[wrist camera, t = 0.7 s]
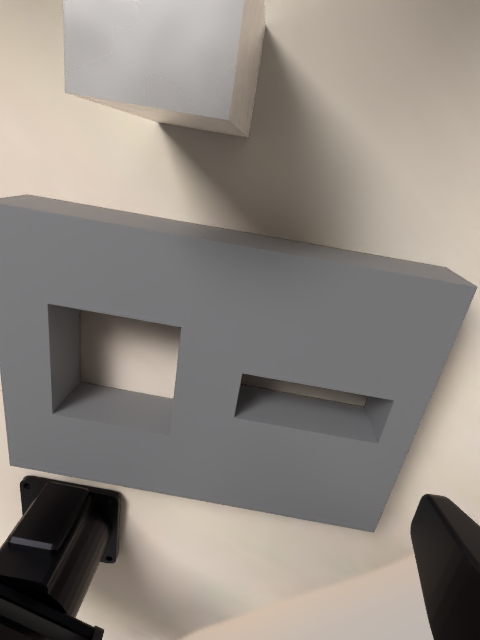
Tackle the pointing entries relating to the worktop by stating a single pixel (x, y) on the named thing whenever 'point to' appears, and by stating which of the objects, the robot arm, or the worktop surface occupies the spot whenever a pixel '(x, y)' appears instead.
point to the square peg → (167, 59)
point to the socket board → (221, 359)
